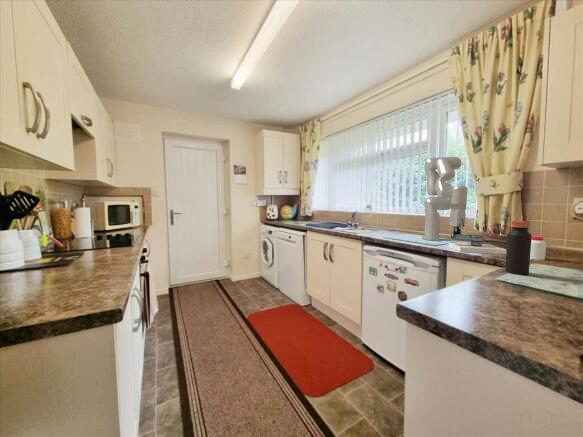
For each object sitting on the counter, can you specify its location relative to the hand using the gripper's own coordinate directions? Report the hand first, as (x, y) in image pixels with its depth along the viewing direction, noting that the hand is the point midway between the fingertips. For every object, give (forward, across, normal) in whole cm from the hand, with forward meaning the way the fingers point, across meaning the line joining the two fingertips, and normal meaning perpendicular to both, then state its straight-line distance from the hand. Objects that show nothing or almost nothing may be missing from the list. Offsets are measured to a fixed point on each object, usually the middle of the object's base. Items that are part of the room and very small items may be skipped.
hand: (456, 237), depth 143 cm
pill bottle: (+6, +20, +26) cm, 33 cm away
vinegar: (+6, +51, 0) cm, 52 cm away
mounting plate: (+6, +3, +9) cm, 11 cm away
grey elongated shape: (+3, +3, +4) cm, 6 cm away
